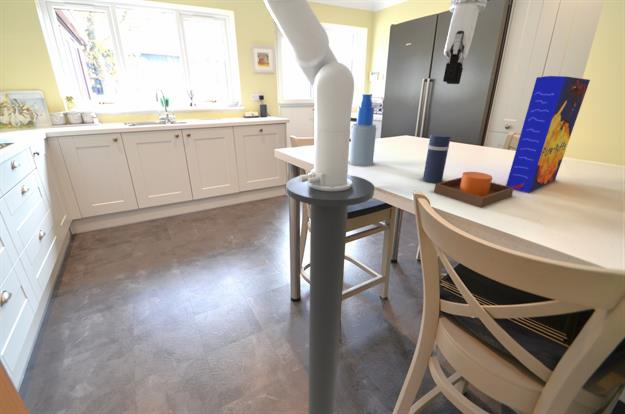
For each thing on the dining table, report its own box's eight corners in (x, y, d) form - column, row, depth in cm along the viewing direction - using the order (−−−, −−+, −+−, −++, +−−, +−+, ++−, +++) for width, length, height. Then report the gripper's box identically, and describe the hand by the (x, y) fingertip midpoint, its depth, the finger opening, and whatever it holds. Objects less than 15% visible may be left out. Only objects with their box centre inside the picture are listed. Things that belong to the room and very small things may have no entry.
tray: (481, 207, 69) (483, 197, 68) (433, 192, 79) (435, 183, 78) (511, 196, 76) (514, 187, 75) (464, 183, 87) (466, 176, 86)
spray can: (434, 184, 86) (443, 137, 81) (418, 179, 90) (426, 134, 85) (445, 181, 89) (454, 136, 83) (430, 177, 93) (437, 133, 88)
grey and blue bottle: (376, 162, 111) (383, 94, 102) (367, 167, 104) (374, 94, 95) (355, 159, 116) (360, 94, 106) (345, 163, 109) (350, 93, 99)
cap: (478, 198, 73) (483, 180, 71) (453, 191, 78) (457, 173, 76) (492, 194, 76) (497, 176, 75) (467, 187, 82) (471, 170, 80)
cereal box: (528, 192, 79) (566, 75, 68) (505, 187, 84) (537, 76, 73) (554, 180, 91) (590, 78, 80) (533, 176, 96) (564, 79, 85)
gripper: (453, 13, 74) (439, 84, 81) (448, -8, 60) (431, 80, 66) (485, 10, 71) (468, 85, 77) (488, -12, 57) (467, 81, 63)
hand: (451, 82), depth 72 cm, fingers open, 9 cm apart
